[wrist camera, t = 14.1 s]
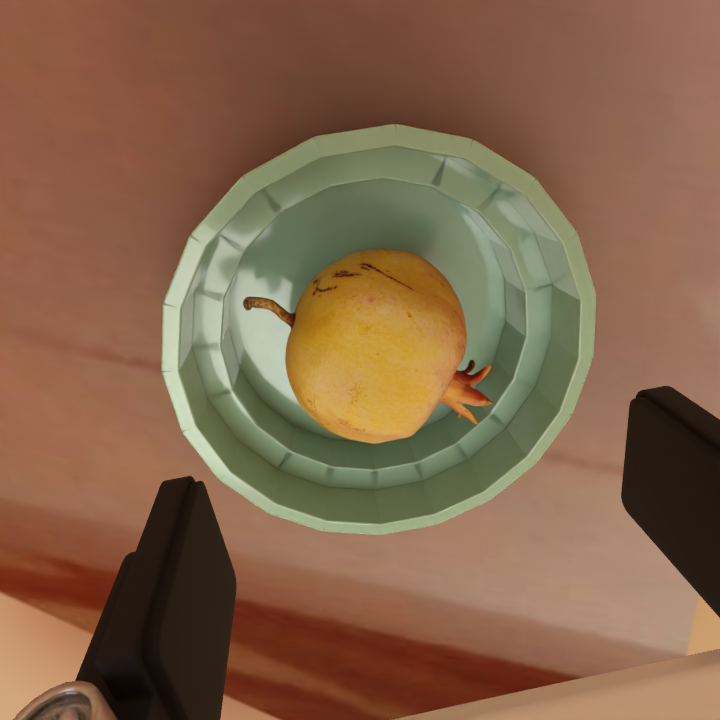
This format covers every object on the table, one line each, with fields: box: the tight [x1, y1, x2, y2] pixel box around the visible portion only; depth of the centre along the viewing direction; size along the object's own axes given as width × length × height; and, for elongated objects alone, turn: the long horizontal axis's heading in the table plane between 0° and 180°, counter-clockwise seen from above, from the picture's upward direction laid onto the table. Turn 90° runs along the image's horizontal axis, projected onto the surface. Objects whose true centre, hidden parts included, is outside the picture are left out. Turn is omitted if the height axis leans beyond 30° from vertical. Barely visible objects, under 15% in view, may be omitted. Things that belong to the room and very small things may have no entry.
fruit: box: [243, 248, 494, 444], centre depth 19 cm, size 7×7×10 cm
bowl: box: [161, 124, 596, 535], centre depth 20 cm, size 15×15×5 cm
